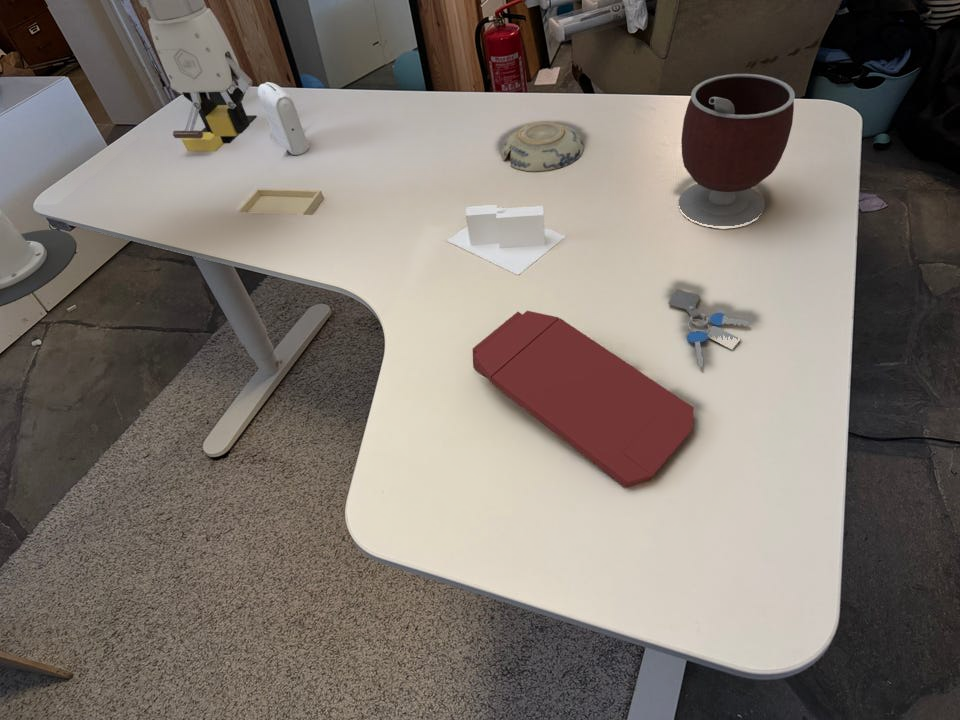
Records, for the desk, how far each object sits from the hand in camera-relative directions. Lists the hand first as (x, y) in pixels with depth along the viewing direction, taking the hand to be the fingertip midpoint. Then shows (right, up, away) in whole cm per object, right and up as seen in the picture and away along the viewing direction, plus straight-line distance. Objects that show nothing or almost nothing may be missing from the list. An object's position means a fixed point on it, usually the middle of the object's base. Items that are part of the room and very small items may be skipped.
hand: (230, 128), depth 97 cm
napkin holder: (+44, -19, -4) cm, 48 cm away
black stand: (-16, +12, +35) cm, 40 cm away
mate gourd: (+76, -14, -5) cm, 78 cm away
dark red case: (+51, -42, -27) cm, 71 cm away
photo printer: (+2, +7, +27) cm, 28 cm away
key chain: (+69, -33, -21) cm, 79 cm away
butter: (-17, +7, +30) cm, 35 cm away
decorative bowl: (+51, +1, +14) cm, 53 cm away
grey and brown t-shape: (-17, +14, +27) cm, 35 cm away
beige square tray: (+4, -12, +9) cm, 16 cm away
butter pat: (0, 0, 0) cm, 0 cm away
